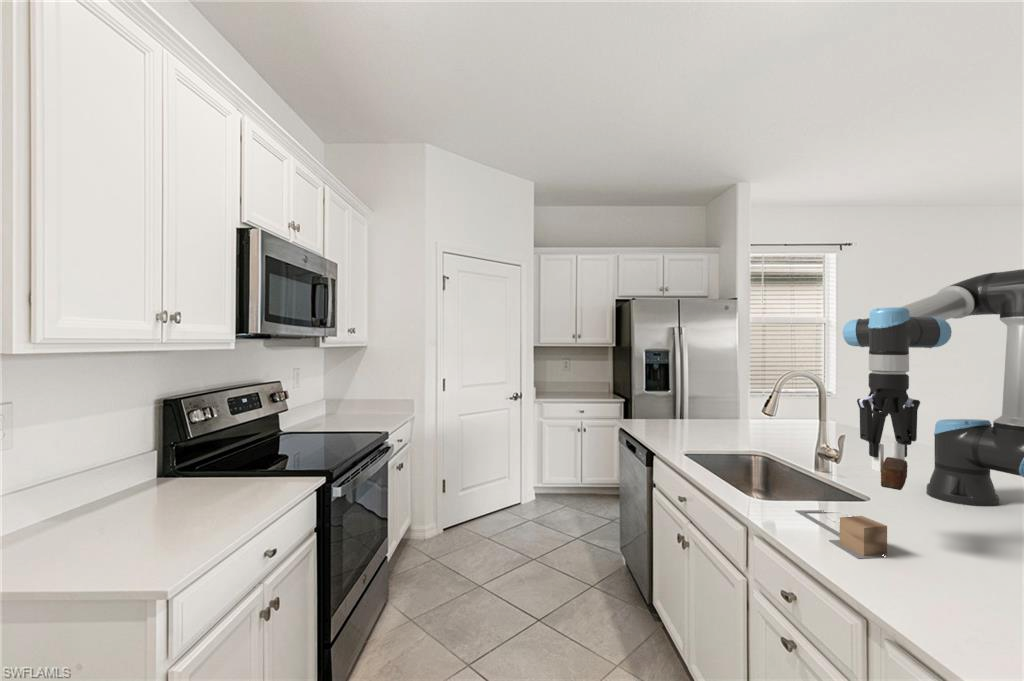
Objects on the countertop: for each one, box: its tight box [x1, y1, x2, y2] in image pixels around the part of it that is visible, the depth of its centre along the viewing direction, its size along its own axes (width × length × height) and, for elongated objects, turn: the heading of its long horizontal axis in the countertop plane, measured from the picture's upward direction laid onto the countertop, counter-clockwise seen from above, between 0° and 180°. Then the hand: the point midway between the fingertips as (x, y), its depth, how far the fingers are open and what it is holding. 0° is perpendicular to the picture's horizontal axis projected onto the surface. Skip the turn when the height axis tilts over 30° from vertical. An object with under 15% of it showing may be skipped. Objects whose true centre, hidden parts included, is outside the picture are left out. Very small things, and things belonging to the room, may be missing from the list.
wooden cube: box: [839, 515, 888, 556], centre depth 105 cm, size 6×6×6 cm
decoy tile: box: [828, 539, 886, 560], centre depth 105 cm, size 9×9×1 cm
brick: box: [880, 456, 908, 491], centre depth 108 cm, size 11×4×5 cm, turn 136°
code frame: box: [794, 509, 840, 538], centre depth 120 cm, size 13×17×1 cm
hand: (887, 470), depth 112 cm, fingers closed on brick, 4 cm apart
